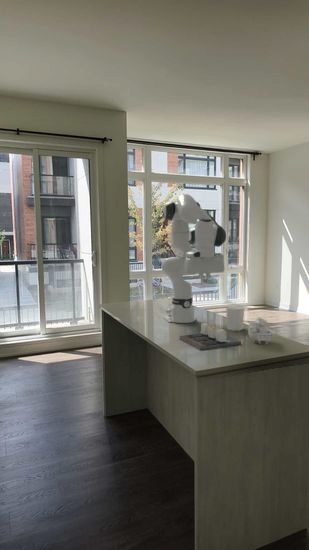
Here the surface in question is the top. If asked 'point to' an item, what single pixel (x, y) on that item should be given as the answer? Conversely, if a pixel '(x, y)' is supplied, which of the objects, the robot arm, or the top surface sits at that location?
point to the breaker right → (221, 335)
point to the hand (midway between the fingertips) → (204, 282)
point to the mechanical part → (260, 330)
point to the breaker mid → (212, 331)
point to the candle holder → (235, 317)
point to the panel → (208, 341)
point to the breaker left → (204, 328)
